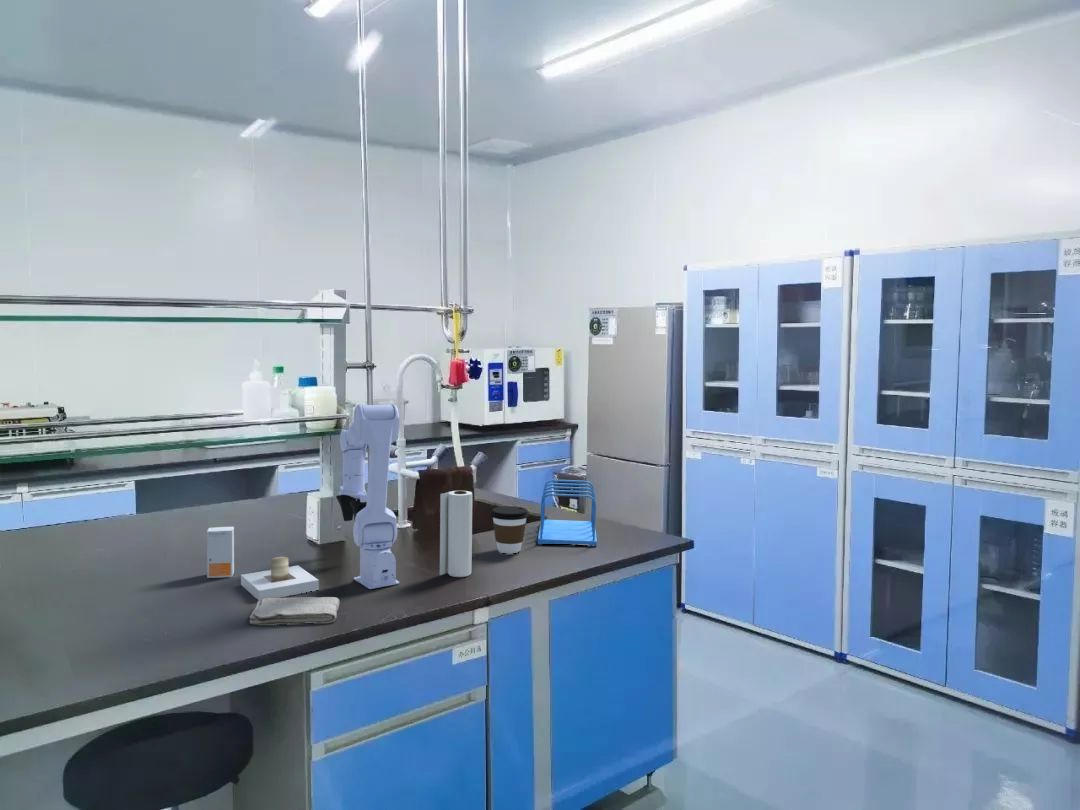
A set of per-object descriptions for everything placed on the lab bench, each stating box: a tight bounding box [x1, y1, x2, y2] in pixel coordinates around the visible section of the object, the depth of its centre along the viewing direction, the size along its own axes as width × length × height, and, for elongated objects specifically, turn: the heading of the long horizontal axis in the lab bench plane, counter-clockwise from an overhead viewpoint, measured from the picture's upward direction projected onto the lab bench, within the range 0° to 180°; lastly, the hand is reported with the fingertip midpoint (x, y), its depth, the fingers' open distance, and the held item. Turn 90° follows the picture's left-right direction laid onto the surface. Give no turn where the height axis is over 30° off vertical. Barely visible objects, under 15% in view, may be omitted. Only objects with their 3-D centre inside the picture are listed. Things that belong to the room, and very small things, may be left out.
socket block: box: [240, 565, 320, 602], centre depth 190 cm, size 14×14×2 cm
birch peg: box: [270, 556, 290, 583], centre depth 190 cm, size 4×4×7 cm
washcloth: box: [248, 596, 340, 626], centre depth 172 cm, size 12×18×3 cm, turn 99°
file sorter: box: [537, 479, 598, 546], centre depth 243 cm, size 25×17×15 cm
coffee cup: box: [490, 505, 530, 554], centre depth 224 cm, size 11×11×12 cm
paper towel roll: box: [439, 490, 473, 578], centre depth 202 cm, size 7×6×21 cm
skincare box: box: [206, 526, 235, 579], centre depth 198 cm, size 6×4×12 cm
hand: (353, 523), depth 215 cm, fingers open, 7 cm apart
